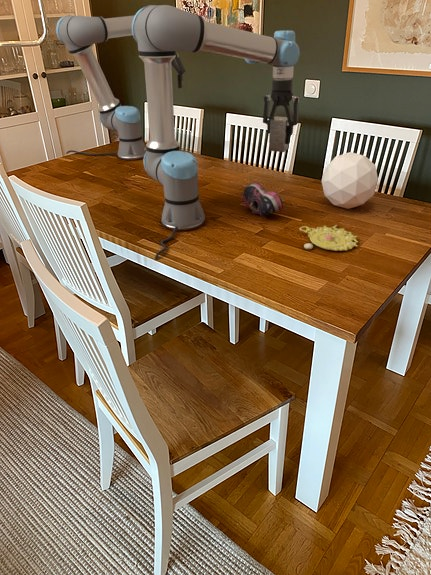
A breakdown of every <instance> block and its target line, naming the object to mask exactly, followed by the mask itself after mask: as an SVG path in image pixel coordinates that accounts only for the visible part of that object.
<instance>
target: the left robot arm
mask: <svg viewBox="0 0 431 575" xmlns="http://www.w3.org/2000/svg"><path fill="white" fill-rule="evenodd" d="M134 16H135V15H127V16H126V15H125V16H117V17H109V18H108V17H107V18H104V17H103V16H86V15H71V14H67V15H65V16H62V17H60V18H59V20H58V21H57V23H56V26H55V32H56V36H57V39H58V40H59V41H60V42H61V43H62V44H63V45H65V47H66V49H67V51H68V53H69V54H70V55H71V56H74V57H75V59H76V61H77V64H78V65H79V67H80V69H81V71H82V74H83V75H84V78H85V80H86V82H87V84H88V86H89V88H90V90H91V92H92V94H93V96H94V98H95V100H96V102H97V104H98V107H97V111H98V113H99V115H98V118H99V119H98V120H99V122H100V123H101V125H102V126H103V127H104V128H106V129H107V130H109V131H112V132H116V133H117V135H118V141H119V142H118V150H117V151H116V152H103V153H88V152H84V151H79V150H78V151H77V150H72V149H71V150H67V152H66V153H65V155H68V154H70V153H76V154H80V155H85V156H106V155H107V156H108V155H110V156H111V155H117V158H118V159H119V160H123V161H138V160H144V155H145V153H146V152H147V150H146V144H145V142H144V140H143V139H144V138H143V131H142V122H141V119H142V118H141V113H140V110H139V109H138V108H137V107H135V106H132V105H122V104H121V102H120V99H119V98H116V97H115V96H114V94H113V91H112V89H111V87H110V85H109V83H108V81H107V79H106V76H105V74H104V72H103V70H102V67H101V66H100V64H99V61H98V59H97V57H96V55H95V53H94V51H93V50H94V49H93V46H94V45H95V44H101V43H106V42H107V41H108V40H109V39H114V38H122V37H130V36H133V33H132V22H133V18H134ZM171 66H172V67H173V68H174V70H175V71H176V73H177V88H178V89H182V88H183V84H182V82H183V81H184V78H183V75H184V74H186V73H187V72H186V69H185V67H184V64H183V62H182V60H181V58H180V53H176V57H175V58H174V59H173V60H172V62H171Z"/></svg>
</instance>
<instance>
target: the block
mask: <svg viewBox="0 0 431 575" xmlns="http://www.w3.org/2000/svg"><path fill="white" fill-rule="evenodd" d="M287 126H289V123H288V119H287V116H275V115H274V118H272V119H271V120H270V141H269V140H268V146H269V147H268V151H269V152H277V153H285V152H286V151H288V149H290V143H289V144H286V136H287Z"/></svg>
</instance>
